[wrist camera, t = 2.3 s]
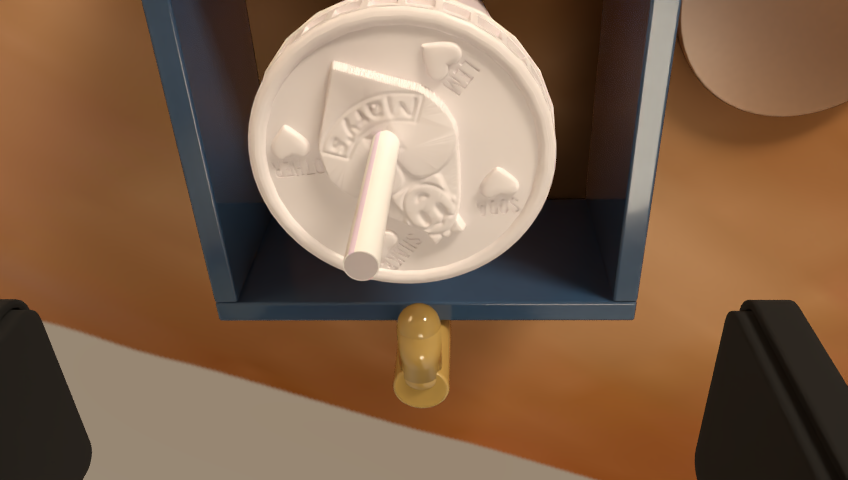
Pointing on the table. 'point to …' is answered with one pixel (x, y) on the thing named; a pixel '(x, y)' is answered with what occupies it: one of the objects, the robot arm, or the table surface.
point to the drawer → (432, 301)
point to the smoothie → (403, 138)
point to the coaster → (769, 53)
